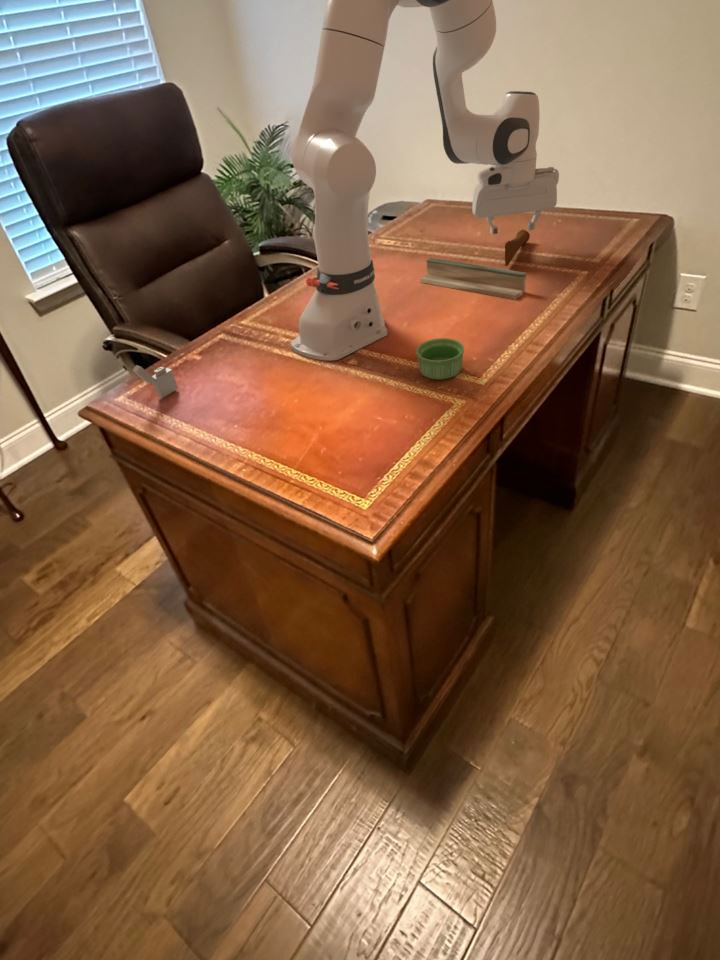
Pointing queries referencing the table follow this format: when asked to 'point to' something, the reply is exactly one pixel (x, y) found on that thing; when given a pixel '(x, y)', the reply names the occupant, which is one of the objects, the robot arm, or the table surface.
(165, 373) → the lighter
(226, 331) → the table surface
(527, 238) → the primitive tool
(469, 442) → the table surface
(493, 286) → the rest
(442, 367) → the ramekin
